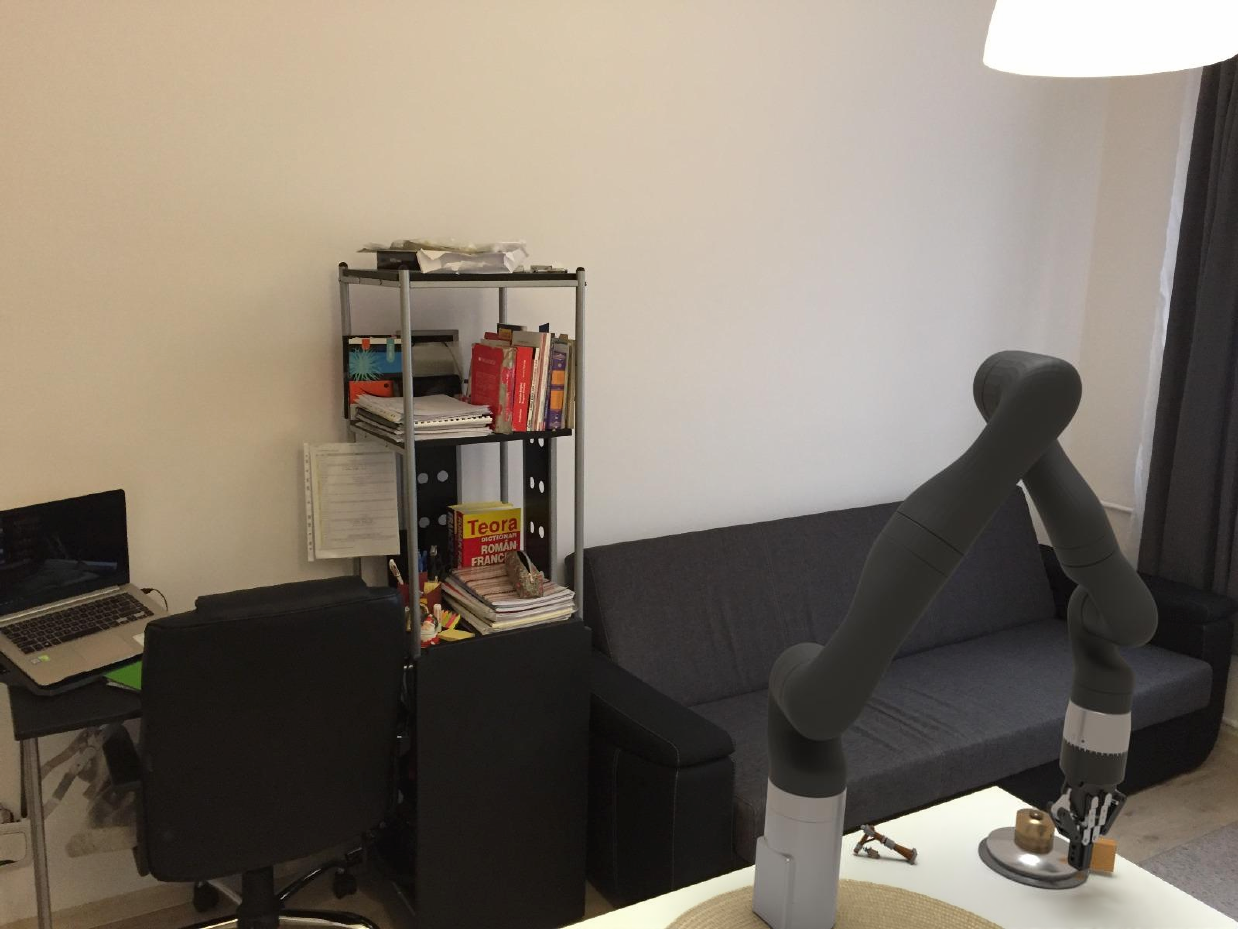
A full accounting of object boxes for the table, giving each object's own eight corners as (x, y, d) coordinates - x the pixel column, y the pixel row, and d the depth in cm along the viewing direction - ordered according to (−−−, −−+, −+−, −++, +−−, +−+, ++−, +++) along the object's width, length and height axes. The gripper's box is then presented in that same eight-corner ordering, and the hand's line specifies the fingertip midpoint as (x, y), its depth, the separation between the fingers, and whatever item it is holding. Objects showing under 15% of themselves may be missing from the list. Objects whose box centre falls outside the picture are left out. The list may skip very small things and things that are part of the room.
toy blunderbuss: (847, 845, 143) (863, 818, 142) (900, 873, 142) (916, 847, 141) (848, 851, 141) (864, 824, 140) (901, 880, 140) (918, 853, 139)
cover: (1054, 856, 140) (1058, 824, 139) (1015, 849, 141) (1018, 817, 140) (1050, 839, 145) (1054, 808, 144) (1012, 832, 146) (1015, 801, 145)
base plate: (1039, 899, 133) (1039, 896, 133) (956, 847, 145) (956, 845, 145) (1111, 875, 139) (1111, 872, 139) (1025, 828, 151) (1026, 825, 151)
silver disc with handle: (989, 870, 138) (992, 843, 137) (983, 828, 149) (986, 803, 149) (1121, 893, 134) (1124, 865, 133) (1104, 848, 145) (1107, 822, 145)
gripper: (1086, 758, 124) (1068, 893, 127) (1156, 743, 131) (1138, 871, 133) (1034, 734, 131) (1018, 863, 133) (1104, 721, 137) (1087, 844, 140)
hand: (1078, 867), depth 133 cm, fingers closed
